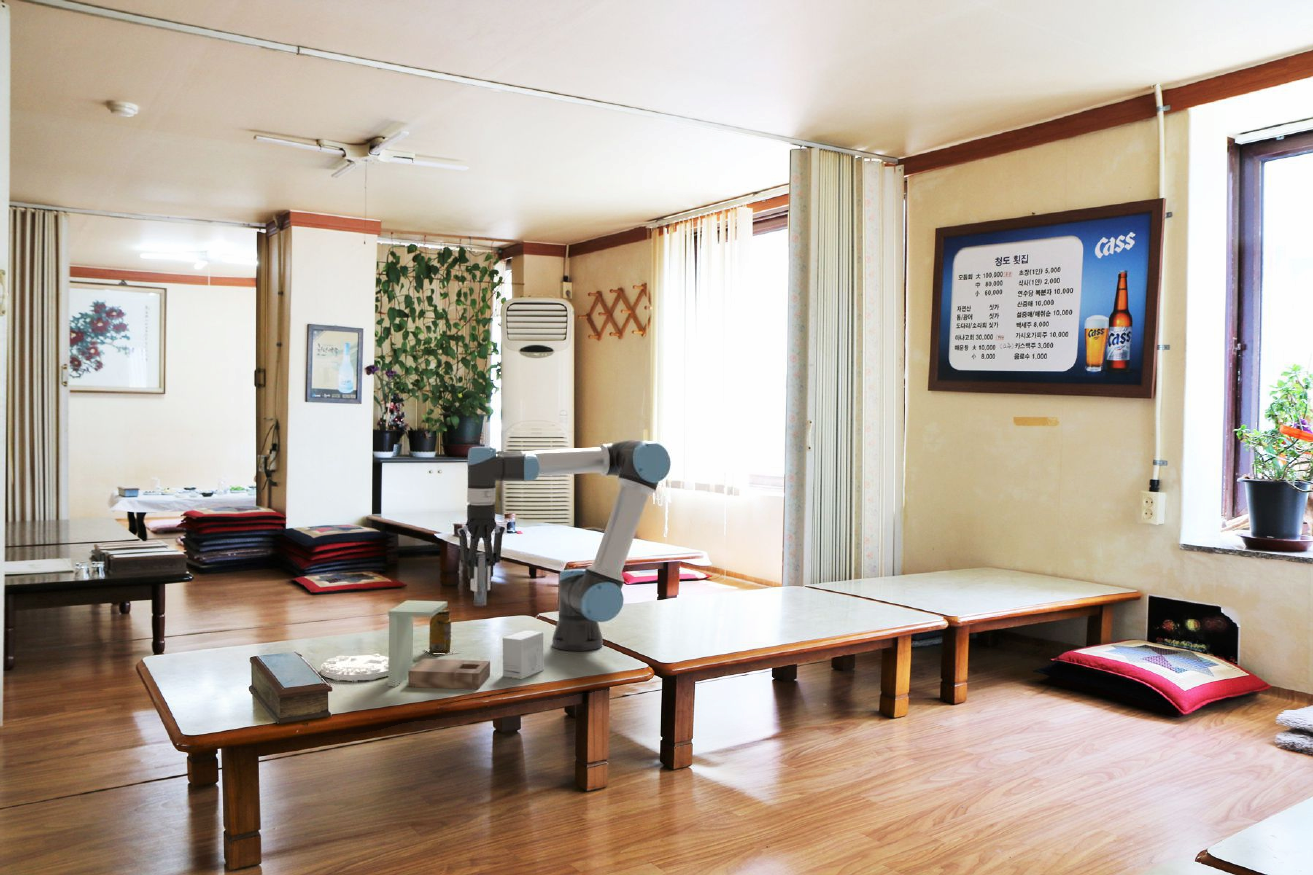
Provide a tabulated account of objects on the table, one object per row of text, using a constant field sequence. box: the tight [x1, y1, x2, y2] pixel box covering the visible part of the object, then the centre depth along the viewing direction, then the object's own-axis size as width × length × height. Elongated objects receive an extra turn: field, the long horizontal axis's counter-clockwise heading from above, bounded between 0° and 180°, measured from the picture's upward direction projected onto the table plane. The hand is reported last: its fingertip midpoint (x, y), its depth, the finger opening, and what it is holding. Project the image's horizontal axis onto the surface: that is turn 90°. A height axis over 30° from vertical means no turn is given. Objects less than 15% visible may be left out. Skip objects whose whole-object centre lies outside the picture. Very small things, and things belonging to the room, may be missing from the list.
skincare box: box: [502, 629, 545, 680], centre depth 251 cm, size 10×6×10 cm, turn 152°
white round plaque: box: [320, 653, 389, 683], centre depth 250 cm, size 20×20×3 cm
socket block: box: [407, 658, 491, 690], centre depth 242 cm, size 18×12×4 cm, turn 86°
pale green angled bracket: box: [387, 600, 448, 688], centre depth 243 cm, size 11×14×19 cm
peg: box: [473, 552, 487, 607], centre depth 255 cm, size 3×3×14 cm
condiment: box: [424, 608, 460, 657], centre depth 272 cm, size 7×8×12 cm
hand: (480, 589), depth 255 cm, fingers closed on peg, 3 cm apart
